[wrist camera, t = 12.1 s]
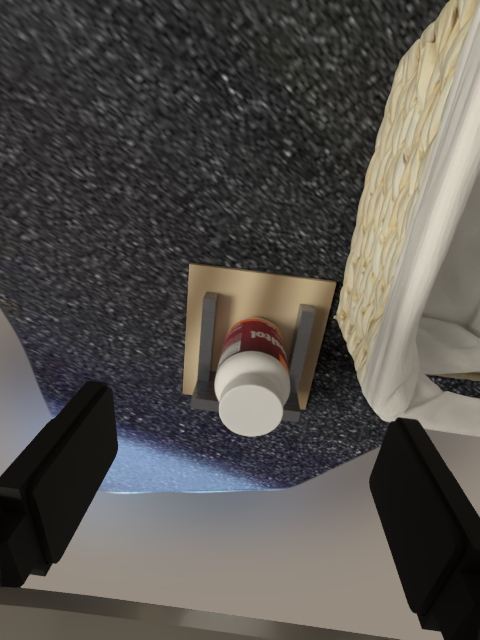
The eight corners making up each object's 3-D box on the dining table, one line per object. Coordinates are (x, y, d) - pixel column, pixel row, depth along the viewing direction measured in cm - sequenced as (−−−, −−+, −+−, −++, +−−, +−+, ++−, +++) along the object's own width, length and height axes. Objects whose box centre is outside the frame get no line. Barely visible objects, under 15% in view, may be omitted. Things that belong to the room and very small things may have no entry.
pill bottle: (296, 342, 33) (313, 413, 22) (255, 378, 35) (253, 458, 24) (252, 302, 31) (249, 359, 21) (212, 342, 33) (191, 412, 23)
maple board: (335, 281, 30) (336, 282, 30) (304, 406, 36) (305, 409, 36) (190, 262, 30) (189, 264, 30) (183, 390, 36) (182, 393, 36)
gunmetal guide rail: (312, 305, 31) (321, 326, 26) (293, 390, 35) (298, 422, 30) (206, 291, 31) (197, 310, 26) (199, 378, 35) (190, 408, 30)
